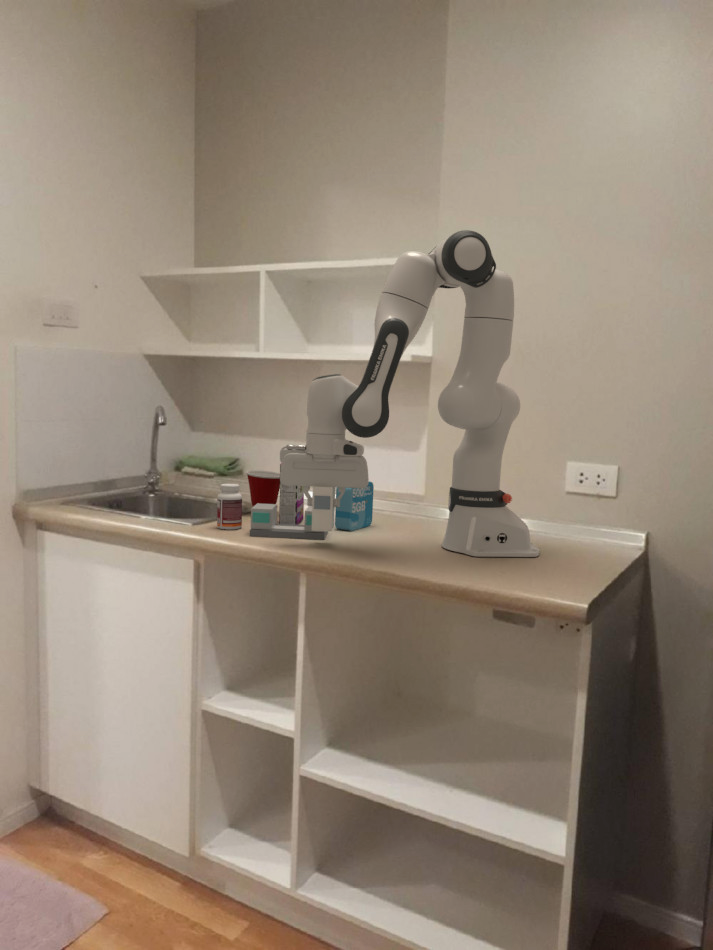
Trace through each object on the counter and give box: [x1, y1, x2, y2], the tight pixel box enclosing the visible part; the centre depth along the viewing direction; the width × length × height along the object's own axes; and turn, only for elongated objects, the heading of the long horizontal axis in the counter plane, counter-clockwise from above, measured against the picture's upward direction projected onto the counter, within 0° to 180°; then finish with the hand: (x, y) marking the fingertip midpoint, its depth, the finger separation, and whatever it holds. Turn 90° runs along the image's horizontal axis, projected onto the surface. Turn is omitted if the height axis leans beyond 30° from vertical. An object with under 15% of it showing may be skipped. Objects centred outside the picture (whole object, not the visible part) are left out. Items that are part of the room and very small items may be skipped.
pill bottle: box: [216, 483, 243, 531], centre depth 187 cm, size 6×6×11 cm
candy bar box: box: [278, 462, 305, 525], centre depth 198 cm, size 11×5×16 cm, turn 174°
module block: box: [311, 486, 336, 532], centre depth 171 cm, size 4×7×10 cm, turn 177°
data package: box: [334, 481, 375, 532], centre depth 195 cm, size 12×4×12 cm, turn 150°
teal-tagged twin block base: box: [249, 503, 329, 541], centre depth 183 cm, size 18×10×7 cm, turn 87°
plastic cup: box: [245, 469, 280, 508], centre depth 209 cm, size 11×11×12 cm
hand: (323, 506), depth 171 cm, fingers closed on module block, 4 cm apart
